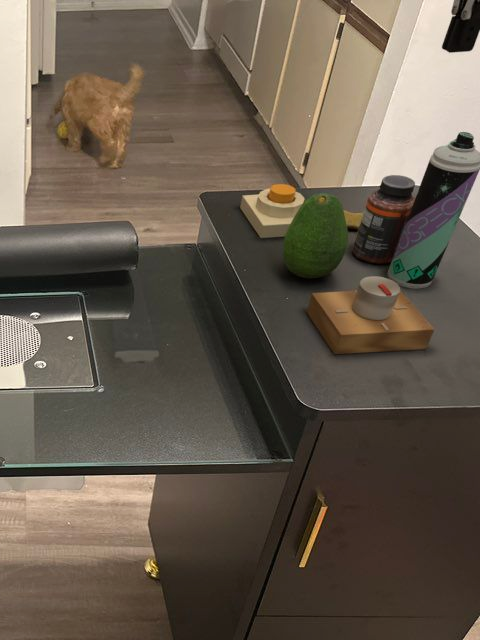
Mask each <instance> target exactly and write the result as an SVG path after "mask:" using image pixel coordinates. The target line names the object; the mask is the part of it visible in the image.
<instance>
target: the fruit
mask: <svg viewBox="0 0 480 640" xmlns="http://www.w3.org/2000/svg"><path fill="white" fill-rule="evenodd" d="M343 210H344V207H343V204H342V203H341V202H340V200H339V198H338V197H336V196H335V195H333V194H329V193H327V192H321V193H316V194H312V195H310V196H309V197H308V198H307V199H306V200H304V203H303V204H302V206H301V207H300V208H299V210H298V212H297V213H296V215H295V217H294V218H293V220H292V222H291V224H290V226H289V228H288V230H287V233H286V235H285V237H284V239H283V245H282V255H283V259H284V263H285V266H286V268H287V269H288V270H289V271H290V272H291V273H292V274H294V275H295V276H297V277H299V278H303V279H309V280H310V279H317V278H321V277H324V276H326V275H329V274H330V273H332V272H333V271H334V270H336V269H337V268H338V266H339V265H340V263H341V262H342V260H343V258H344V256H345V254H346V252H347V249H348V244H349V230H348V228H347V224H346V220H345V215H344V211H345V210H344V211H343Z"/></svg>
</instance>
